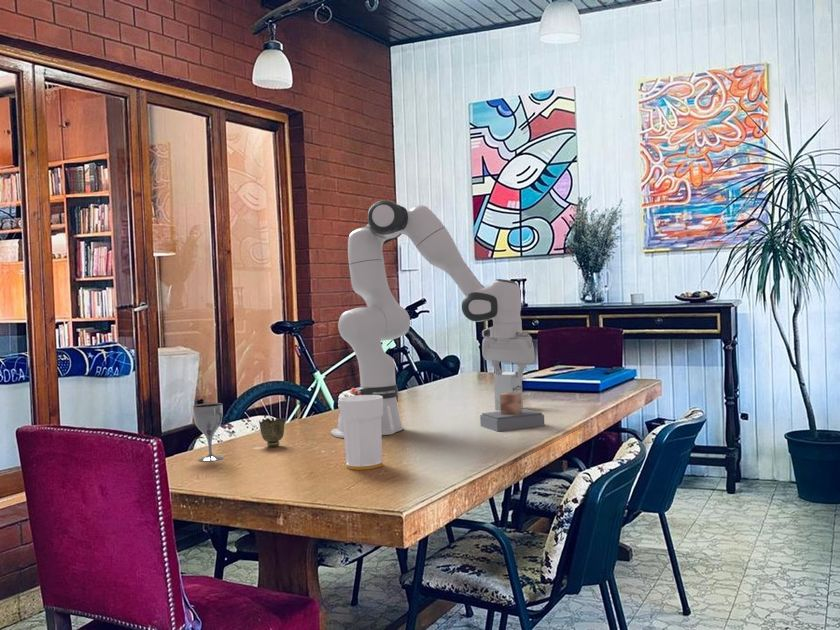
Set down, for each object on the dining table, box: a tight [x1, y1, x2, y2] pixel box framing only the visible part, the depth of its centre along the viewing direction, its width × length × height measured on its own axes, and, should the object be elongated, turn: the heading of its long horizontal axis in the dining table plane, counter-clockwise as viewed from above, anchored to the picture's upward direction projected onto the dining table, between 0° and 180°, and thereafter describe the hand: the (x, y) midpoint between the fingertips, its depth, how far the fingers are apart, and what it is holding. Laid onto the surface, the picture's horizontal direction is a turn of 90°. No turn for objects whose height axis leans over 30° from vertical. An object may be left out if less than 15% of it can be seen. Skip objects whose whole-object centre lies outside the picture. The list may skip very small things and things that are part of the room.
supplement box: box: [493, 371, 524, 411], centre depth 301 cm, size 7×7×13 cm
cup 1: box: [258, 417, 286, 448], centre depth 252 cm, size 8×7×8 cm
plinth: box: [479, 408, 546, 432], centre depth 266 cm, size 16×12×4 cm
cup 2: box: [338, 395, 383, 471], centre depth 218 cm, size 11×11×17 cm
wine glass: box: [192, 402, 225, 463], centre depth 238 cm, size 8×8×15 cm
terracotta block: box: [500, 393, 523, 415], centre depth 266 cm, size 5×5×6 cm
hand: (508, 376), depth 266 cm, fingers open, 8 cm apart
